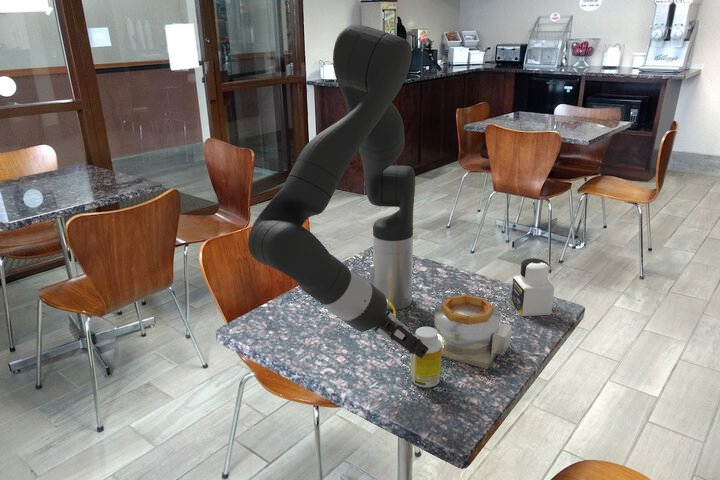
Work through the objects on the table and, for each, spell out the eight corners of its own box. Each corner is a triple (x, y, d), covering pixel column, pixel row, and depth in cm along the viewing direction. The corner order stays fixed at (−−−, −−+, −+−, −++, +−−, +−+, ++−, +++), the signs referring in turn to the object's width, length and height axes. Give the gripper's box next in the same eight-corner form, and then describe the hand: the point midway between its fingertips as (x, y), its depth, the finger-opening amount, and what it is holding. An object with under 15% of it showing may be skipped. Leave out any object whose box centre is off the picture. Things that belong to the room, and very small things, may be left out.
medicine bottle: (510, 302, 132) (514, 256, 127) (539, 301, 132) (544, 254, 128) (521, 316, 125) (525, 268, 121) (551, 315, 125) (557, 266, 121)
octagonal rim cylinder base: (420, 350, 112) (421, 312, 109) (446, 321, 123) (447, 285, 120) (496, 371, 105) (499, 331, 102) (516, 338, 116) (519, 301, 113)
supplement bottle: (446, 384, 101) (448, 335, 98) (420, 392, 99) (421, 342, 95) (429, 368, 106) (431, 321, 102) (404, 376, 104) (405, 328, 100)
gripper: (390, 296, 83) (447, 342, 92) (345, 265, 95) (400, 308, 104) (360, 336, 82) (421, 379, 92) (318, 300, 94) (376, 341, 103)
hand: (410, 341), depth 98 cm, fingers open, 8 cm apart
